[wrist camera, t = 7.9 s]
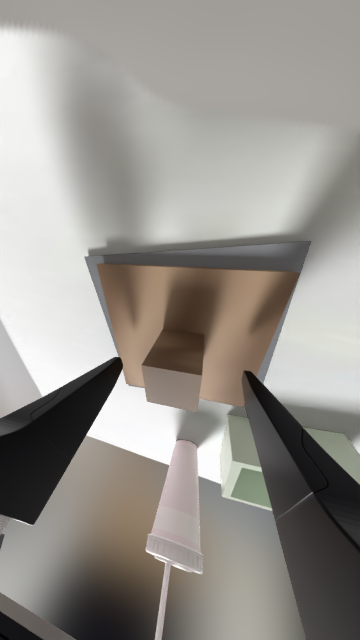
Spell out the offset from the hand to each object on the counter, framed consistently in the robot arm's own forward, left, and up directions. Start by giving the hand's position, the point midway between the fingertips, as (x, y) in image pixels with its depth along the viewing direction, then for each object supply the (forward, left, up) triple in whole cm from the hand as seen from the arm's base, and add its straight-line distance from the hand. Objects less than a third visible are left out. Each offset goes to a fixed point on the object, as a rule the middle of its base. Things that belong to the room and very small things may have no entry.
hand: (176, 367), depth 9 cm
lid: (0, 0, -3) cm, 3 cm away
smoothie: (+1, +22, -4) cm, 22 cm away
